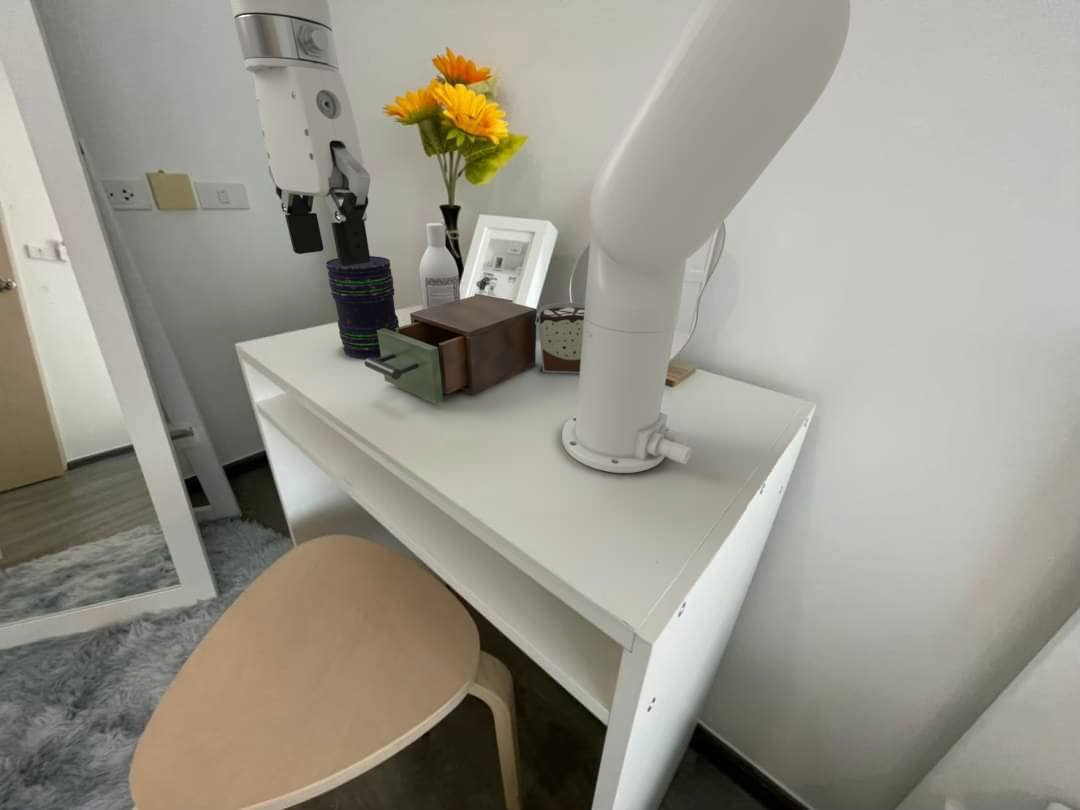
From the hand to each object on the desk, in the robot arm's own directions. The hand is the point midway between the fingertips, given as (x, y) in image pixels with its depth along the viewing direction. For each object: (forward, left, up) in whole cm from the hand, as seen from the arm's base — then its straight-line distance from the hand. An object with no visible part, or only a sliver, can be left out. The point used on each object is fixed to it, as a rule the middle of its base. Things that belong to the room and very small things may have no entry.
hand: (331, 257), depth 47 cm
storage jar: (+20, -15, -20) cm, 32 cm away
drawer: (0, -12, -19) cm, 23 cm away
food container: (-11, -32, -20) cm, 39 cm away
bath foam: (+16, -28, -20) cm, 38 cm away
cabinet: (0, -21, -20) cm, 29 cm away
